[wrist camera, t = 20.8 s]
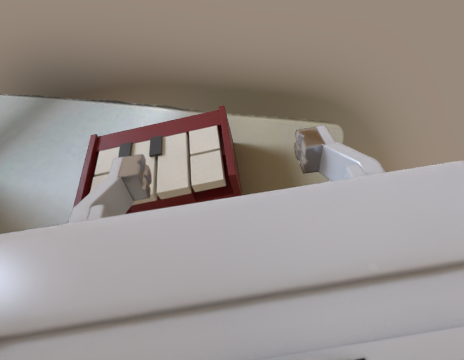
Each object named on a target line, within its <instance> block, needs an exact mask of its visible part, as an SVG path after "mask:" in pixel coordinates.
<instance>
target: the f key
mask: <svg viewBox="0 0 464 360" xmlns="http://www.w3.org/2000/svg"><path fill="white" fill-rule="evenodd" d="M190 162H191V183H192V187H193V189H194V191H195V192H198V191H203V190H208V189H213V188H218V187H223V186H226V180H225V173H224V165H223V158H222V154H221V151H220V150H219V151H214V152H210V153H205V154H200V155H195V156H191V157H190Z"/></svg>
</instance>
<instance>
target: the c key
mask: <svg viewBox="0 0 464 360" xmlns="http://www.w3.org/2000/svg"><path fill="white" fill-rule="evenodd" d="M108 176H109V174H106V175H101V176H97V177H93V181H92V186H91V191H90V192H92V191H93V190H94V189H95V188H96V187H97V186H98V185H99V184H100V183H102V182H103V181H104V180H105V179H108Z"/></svg>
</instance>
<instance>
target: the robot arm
mask: <svg viewBox="0 0 464 360" xmlns="http://www.w3.org/2000/svg"><path fill="white" fill-rule="evenodd" d="M295 137H296V140H297V141H296V142H295V145H294V149H295V155H296V158H297V160H299V161H300V167H301V170H302V172H303V174H304V173H312V172H319V173H321V174H322V175H323V176H325V177H326V178H327V179H329V180H330V182H324V183H317V184H311V185H305V186H299V187H292V188H286V189H280V190H274V191H267V192H261V193H255V194H249V195H242V196H236V197H230V198H223V199H217V200H211V201H205V202H198V203H192V204H186V205H180V206H173V207H167V208H161V209H154V210H148V211H142V212H136V213H129V214H126V212H127V211H128V209H129V208H130V207H131V205H132V204H133V203H134V201H137V200H142V199H148V198H150V191H151V188H150V186H149V185H150V184H151V183H152V175H151V171H150V168H149V166H148V165H146V159H145V156H144V155H143V154H139V155H132V156H125V157H118V158H114V159H113V161H112V165H111V168H110V172H109V176H108V179H105V180H104V181H103V182H102V183H100V184H99V185H98V186H97V187H96V188H95V189H94V190H93V191H92V192H90V193H89V194H88V195H87V196H86V197H85V198H84V199H83V200H82V201H81V202H79V203H78V204H77V205H76V206H75V207H74V208H73V209H72V212H71V215H70V218H69V220H68V223H67V224H61V225H54V226H48V227H42V228H36V229H29V230H23V231H17V232H10V233H3V234H0V360H464V161H455V162H449V163H442V164H436V165H430V166H423V167H418V168H412V169H405V170H399V171H393V172H385V170H384V169H383V168H382V166H381V165H380V164H379V162H378V161H377V160H376V159H373V158H371V157H369V156H367V155H365V154H363V153H360V152H358V151H356V150H354V149H352V148H350V147H348V146H346V145H343V144H341V143H339V142H338V143H336V142H335V140H334V138H333V137H332V135H331V134H330V132H329V130H328V129H327V127H326V126H325V125H321V126H315V127H311V128H305V129H299V130H296V132H295Z"/></svg>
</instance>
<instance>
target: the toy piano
mask: <svg viewBox="0 0 464 360" xmlns="http://www.w3.org/2000/svg"><path fill="white" fill-rule="evenodd" d="M219 150H220V151H221V154H222V158H223V165H224V173H225V180H226V186H223V187H218V188H213V189H208V190H203V191H198V192H195V191H194V189H193V187H192V183H191V162H190V157H191V156H195V155H200V154H205V153H210V152H214V151H219ZM139 154H143V155H144V156H145V159H146V165H148V166H149V168H150V171H151V175H152V183H151V184H150V185H149V186H150V188H151V191H150V198H148V199H142V200H137V201H134V203H133V204H132V205H131V207H130V208H129V209H128V211H127V212H126V214H129V213H136V212H142V211H148V210H154V209H161V208H167V207H173V206H180V205H186V204H192V203H198V202H205V201H211V200H217V199H223V198H230V197H236V196H242V189H241V184H240V178H239V172H238V166H237V161H236V155H235V149H234V144H233V139H232V135H231V131H230V127H229V123H228V119H227V115H226V111H225V107H224V106H220V107H219V110H217V111H212V112H207V113H203V114H198V115H194V116H189V117H185V118H180V119H176V120H171V121H167V122H162V123H158V124H153V125H149V126H144V127H140V128H135V129H131V130H126V131H122V132H117V133H113V134H108V135H104V136H99V137H98V136H97V134H94V135H91V138H90V142H89V146H88V150H87V154H86V158H85V162H84V166H83V170H82V174H81V178H80V182H79V186H78V190H77V194H76V198H75V202H74V207H75V206H76V205H77V204H78V203H79V202H81V201H82V200H83V199H84V198H85V197H86V196H87V195H88V194H89V193H90V191H91V186H92V181H93V177H97V176H101V175H106V174H109V172H110V168H111V165H112V161H113V159H114V158H118V157H125V156H132V155H139ZM74 207H73V208H74Z"/></svg>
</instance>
